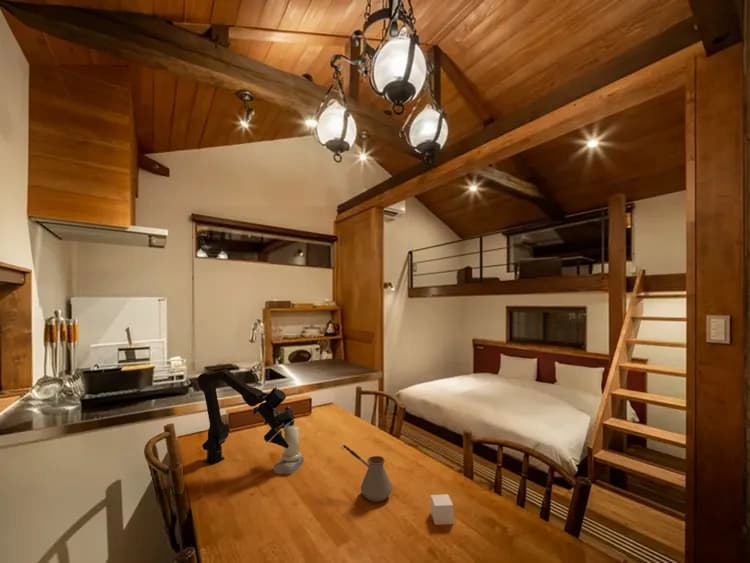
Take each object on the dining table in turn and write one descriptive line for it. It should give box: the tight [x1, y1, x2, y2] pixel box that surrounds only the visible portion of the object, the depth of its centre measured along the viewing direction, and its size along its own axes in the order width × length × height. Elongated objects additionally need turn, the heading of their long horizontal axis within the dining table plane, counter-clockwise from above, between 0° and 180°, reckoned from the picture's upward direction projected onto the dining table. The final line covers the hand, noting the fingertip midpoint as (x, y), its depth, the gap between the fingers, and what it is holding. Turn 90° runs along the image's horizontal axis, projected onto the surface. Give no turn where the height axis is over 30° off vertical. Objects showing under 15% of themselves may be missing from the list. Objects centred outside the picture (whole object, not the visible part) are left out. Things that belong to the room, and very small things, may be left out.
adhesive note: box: [430, 493, 454, 526], centre depth 112 cm, size 6×6×6 cm
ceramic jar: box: [281, 424, 302, 462], centre depth 147 cm, size 8×8×12 cm
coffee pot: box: [341, 444, 393, 503], centre depth 128 cm, size 21×12×15 cm, turn 58°
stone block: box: [273, 455, 305, 475], centre depth 146 cm, size 12×5×10 cm
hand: (292, 442), depth 146 cm, fingers open, 9 cm apart
